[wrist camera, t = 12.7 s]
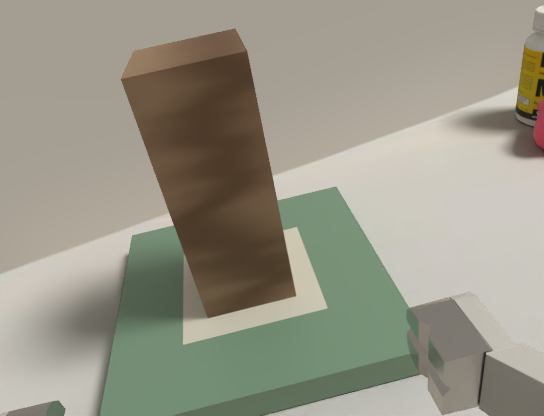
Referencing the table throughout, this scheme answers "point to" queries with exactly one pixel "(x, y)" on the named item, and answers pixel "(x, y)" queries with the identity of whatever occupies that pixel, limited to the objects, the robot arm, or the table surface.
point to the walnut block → (213, 167)
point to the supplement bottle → (532, 73)
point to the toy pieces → (539, 125)
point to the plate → (258, 325)
